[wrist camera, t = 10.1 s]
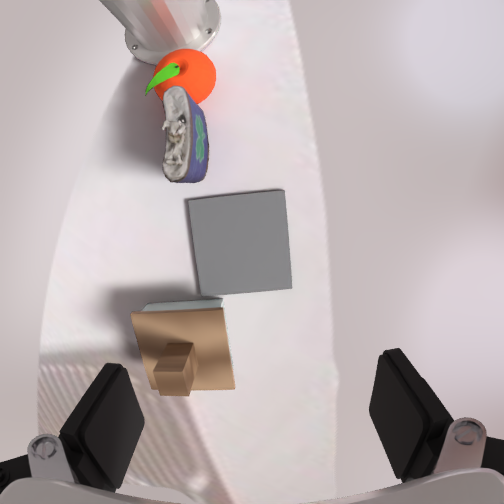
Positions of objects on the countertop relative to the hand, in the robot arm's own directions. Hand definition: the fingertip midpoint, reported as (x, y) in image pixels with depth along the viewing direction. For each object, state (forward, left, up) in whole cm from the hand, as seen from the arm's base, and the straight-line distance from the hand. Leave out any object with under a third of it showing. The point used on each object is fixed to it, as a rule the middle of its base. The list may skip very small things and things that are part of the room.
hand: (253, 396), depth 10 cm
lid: (+11, -10, -22) cm, 27 cm away
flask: (-13, -6, -27) cm, 30 cm away
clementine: (-20, -6, -27) cm, 34 cm away
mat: (0, -2, -26) cm, 26 cm away
